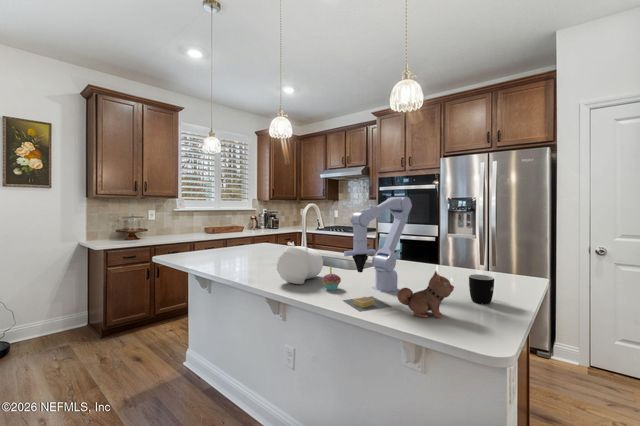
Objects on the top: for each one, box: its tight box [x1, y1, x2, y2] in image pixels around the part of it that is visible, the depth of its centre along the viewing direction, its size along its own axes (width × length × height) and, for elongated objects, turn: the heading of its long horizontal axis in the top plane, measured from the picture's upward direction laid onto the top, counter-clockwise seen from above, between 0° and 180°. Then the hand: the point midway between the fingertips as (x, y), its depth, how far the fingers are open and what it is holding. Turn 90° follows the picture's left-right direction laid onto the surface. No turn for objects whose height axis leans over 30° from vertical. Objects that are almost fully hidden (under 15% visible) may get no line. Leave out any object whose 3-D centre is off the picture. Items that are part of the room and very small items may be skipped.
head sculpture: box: [276, 241, 324, 285], centre depth 161 cm, size 19×20×28 cm
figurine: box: [397, 270, 455, 319], centre depth 112 cm, size 10×19×15 cm, turn 80°
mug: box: [468, 273, 495, 305], centre depth 126 cm, size 12×9×10 cm
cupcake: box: [321, 264, 342, 291], centre depth 143 cm, size 9×8×12 cm
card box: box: [353, 296, 374, 308], centre depth 120 cm, size 2×5×6 cm
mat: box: [341, 296, 392, 312], centre depth 122 cm, size 14×14×1 cm
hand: (360, 271), depth 135 cm, fingers closed
